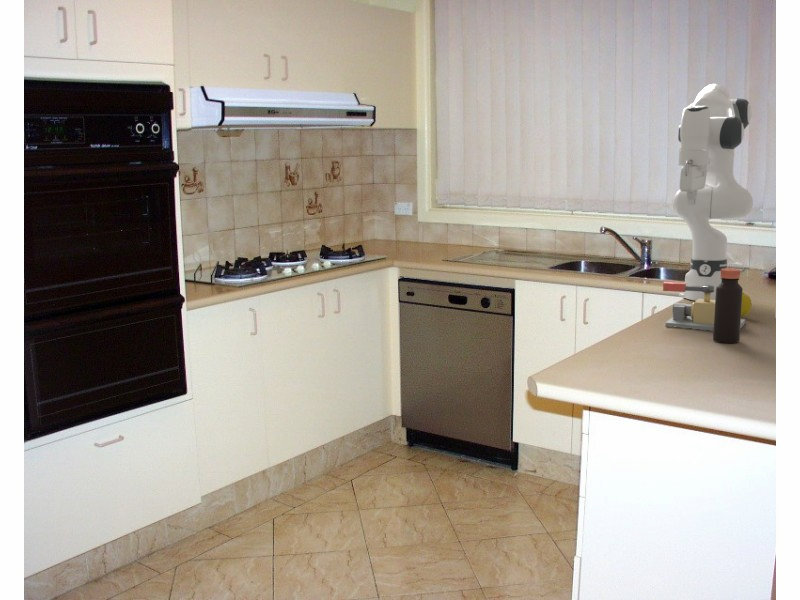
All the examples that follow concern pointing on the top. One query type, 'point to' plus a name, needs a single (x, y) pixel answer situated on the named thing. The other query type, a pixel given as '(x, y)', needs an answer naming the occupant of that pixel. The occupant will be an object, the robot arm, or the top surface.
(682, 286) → the lever
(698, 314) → the valve assembly
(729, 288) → the bottle
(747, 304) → the lemon
